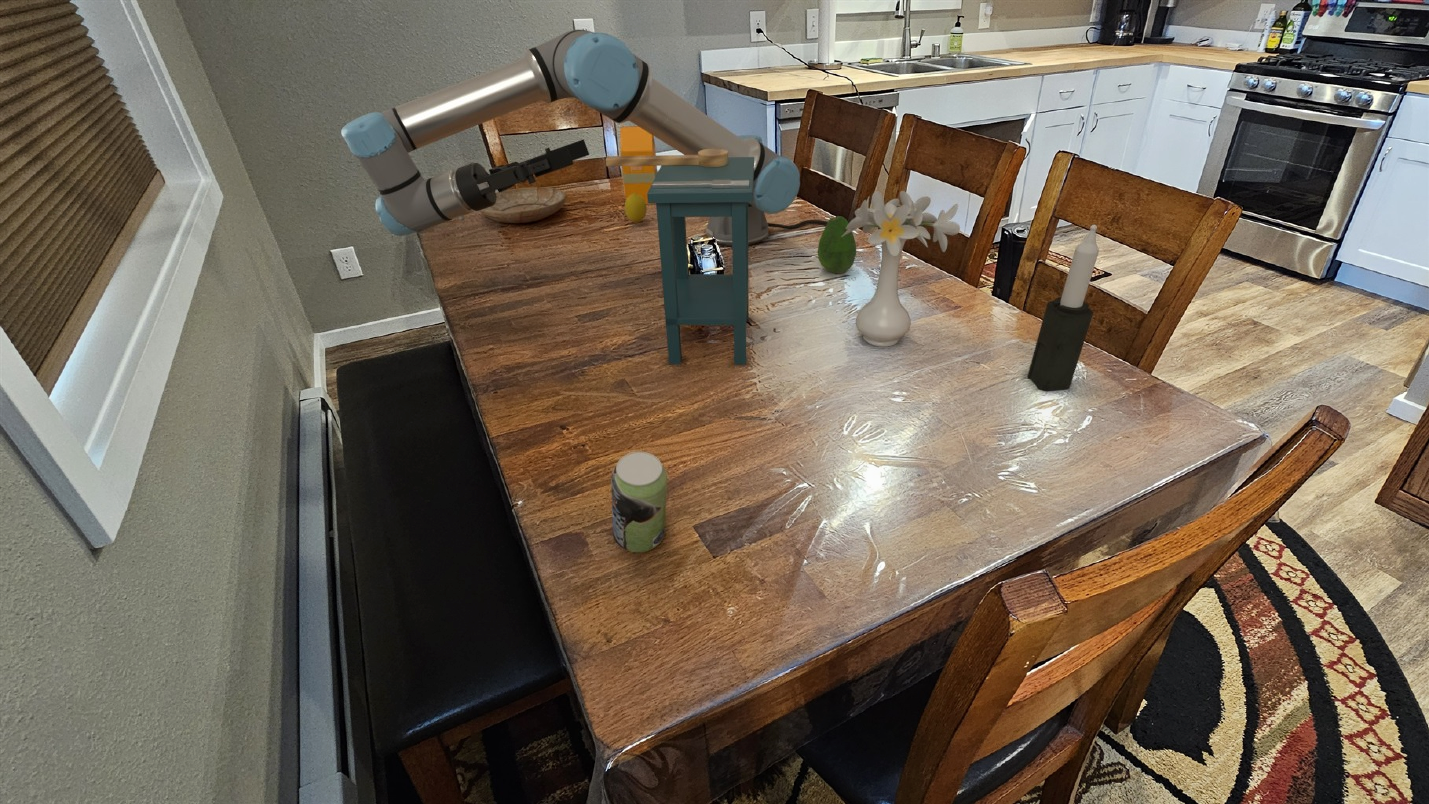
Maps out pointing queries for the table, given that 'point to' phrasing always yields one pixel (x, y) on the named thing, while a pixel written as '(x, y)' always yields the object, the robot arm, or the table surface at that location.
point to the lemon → (635, 208)
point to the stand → (684, 293)
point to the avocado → (836, 246)
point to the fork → (703, 184)
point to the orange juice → (637, 177)
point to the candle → (1065, 323)
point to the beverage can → (638, 501)
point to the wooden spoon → (673, 159)
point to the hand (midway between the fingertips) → (578, 151)
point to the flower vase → (894, 259)
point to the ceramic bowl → (525, 204)
